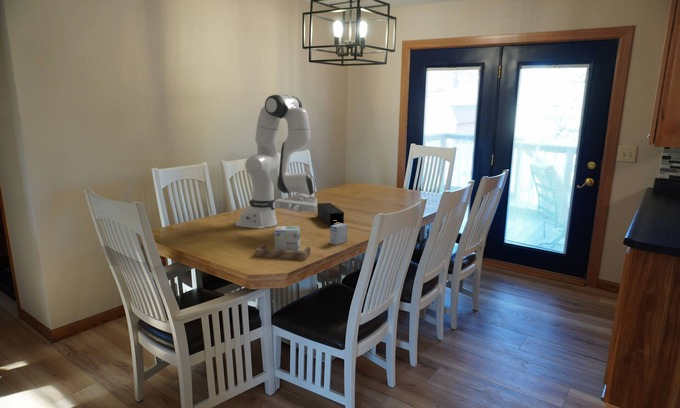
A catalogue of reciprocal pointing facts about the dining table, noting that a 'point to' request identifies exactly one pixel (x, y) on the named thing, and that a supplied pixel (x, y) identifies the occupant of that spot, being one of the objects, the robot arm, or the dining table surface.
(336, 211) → the long black box
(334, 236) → the medicine box
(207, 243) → the dining table surface
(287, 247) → the light bulb box
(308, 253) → the walnut corral
